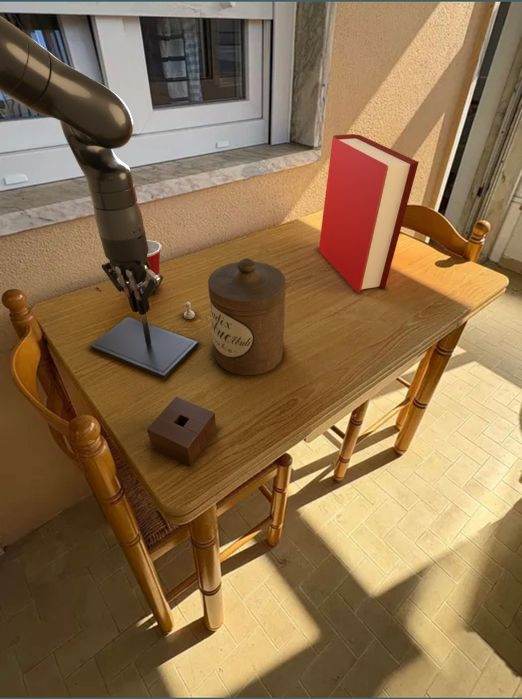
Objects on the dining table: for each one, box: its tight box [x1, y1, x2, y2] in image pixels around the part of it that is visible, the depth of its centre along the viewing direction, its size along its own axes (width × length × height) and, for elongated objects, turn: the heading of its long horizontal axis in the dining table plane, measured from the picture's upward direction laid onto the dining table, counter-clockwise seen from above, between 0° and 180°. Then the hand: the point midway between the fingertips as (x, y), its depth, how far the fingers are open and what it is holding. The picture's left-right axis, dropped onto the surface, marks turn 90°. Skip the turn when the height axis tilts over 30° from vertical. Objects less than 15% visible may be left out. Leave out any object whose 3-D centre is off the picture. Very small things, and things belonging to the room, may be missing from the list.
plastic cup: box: [147, 239, 162, 292], centre depth 98 cm, size 11×11×12 cm
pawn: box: [183, 301, 196, 320], centre depth 91 cm, size 3×3×4 cm
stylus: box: [140, 289, 151, 346], centre depth 78 cm, size 1×1×14 cm
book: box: [318, 133, 419, 294], centre depth 101 cm, size 27×8×32 cm, turn 18°
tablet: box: [89, 316, 199, 380], centre depth 83 cm, size 12×20×1 cm, turn 63°
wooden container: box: [207, 257, 287, 376], centre depth 76 cm, size 15×15×22 cm
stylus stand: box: [146, 396, 217, 467], centre depth 64 cm, size 8×8×5 cm
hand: (141, 311), depth 77 cm, fingers closed on stylus, 1 cm apart
